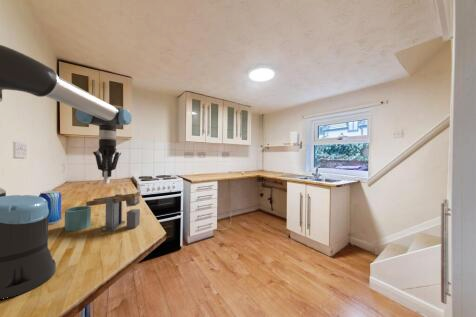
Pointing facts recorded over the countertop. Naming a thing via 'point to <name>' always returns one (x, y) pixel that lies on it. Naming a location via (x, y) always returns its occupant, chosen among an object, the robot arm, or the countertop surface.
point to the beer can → (53, 205)
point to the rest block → (133, 218)
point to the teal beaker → (77, 218)
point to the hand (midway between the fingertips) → (106, 183)
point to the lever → (118, 199)
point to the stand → (113, 214)
